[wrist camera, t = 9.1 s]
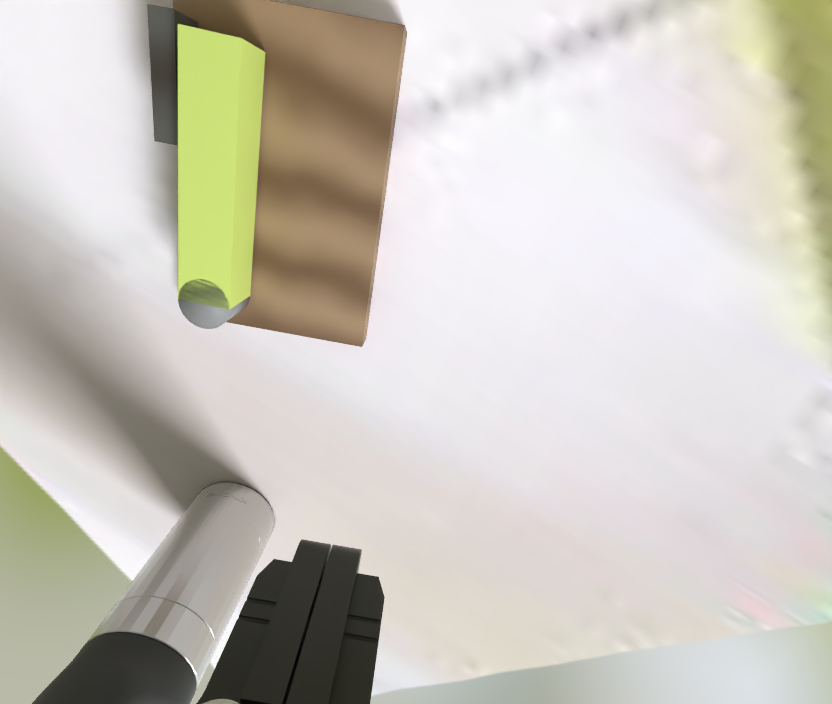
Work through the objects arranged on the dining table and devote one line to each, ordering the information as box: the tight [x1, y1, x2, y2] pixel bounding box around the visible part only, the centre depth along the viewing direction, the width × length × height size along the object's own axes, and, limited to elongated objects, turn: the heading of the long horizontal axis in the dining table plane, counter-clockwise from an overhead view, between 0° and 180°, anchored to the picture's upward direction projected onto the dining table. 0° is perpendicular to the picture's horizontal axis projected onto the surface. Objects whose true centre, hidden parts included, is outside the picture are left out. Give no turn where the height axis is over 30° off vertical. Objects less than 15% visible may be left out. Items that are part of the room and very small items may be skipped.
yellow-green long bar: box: [178, 24, 265, 329], centre depth 34 cm, size 20×4×4 cm, turn 168°
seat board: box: [147, 0, 407, 347], centre depth 35 cm, size 24×16×5 cm, turn 170°
